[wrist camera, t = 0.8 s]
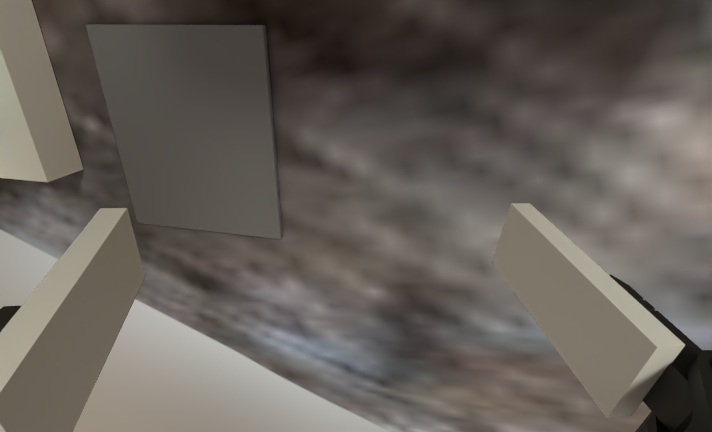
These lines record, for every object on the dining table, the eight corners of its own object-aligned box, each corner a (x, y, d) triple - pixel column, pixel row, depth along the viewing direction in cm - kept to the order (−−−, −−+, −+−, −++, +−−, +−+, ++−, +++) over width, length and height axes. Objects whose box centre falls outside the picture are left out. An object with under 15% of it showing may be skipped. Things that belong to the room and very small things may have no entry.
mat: (90, 24, 25) (85, 24, 24) (265, 25, 22) (262, 24, 22) (140, 220, 30) (137, 222, 30) (283, 236, 28) (280, 239, 28)
